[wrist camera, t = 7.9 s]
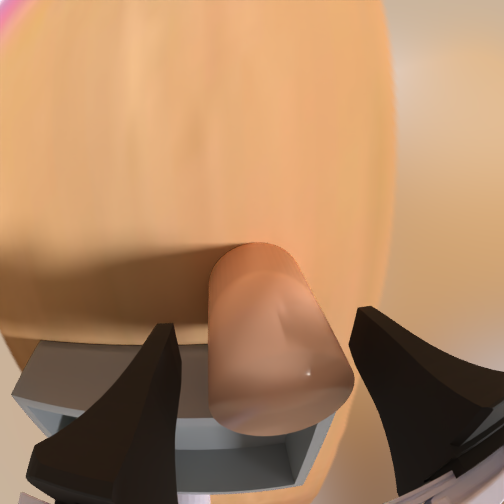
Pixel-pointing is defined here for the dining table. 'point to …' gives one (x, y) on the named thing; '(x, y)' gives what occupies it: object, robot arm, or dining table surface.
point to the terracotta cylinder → (270, 346)
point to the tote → (188, 419)
